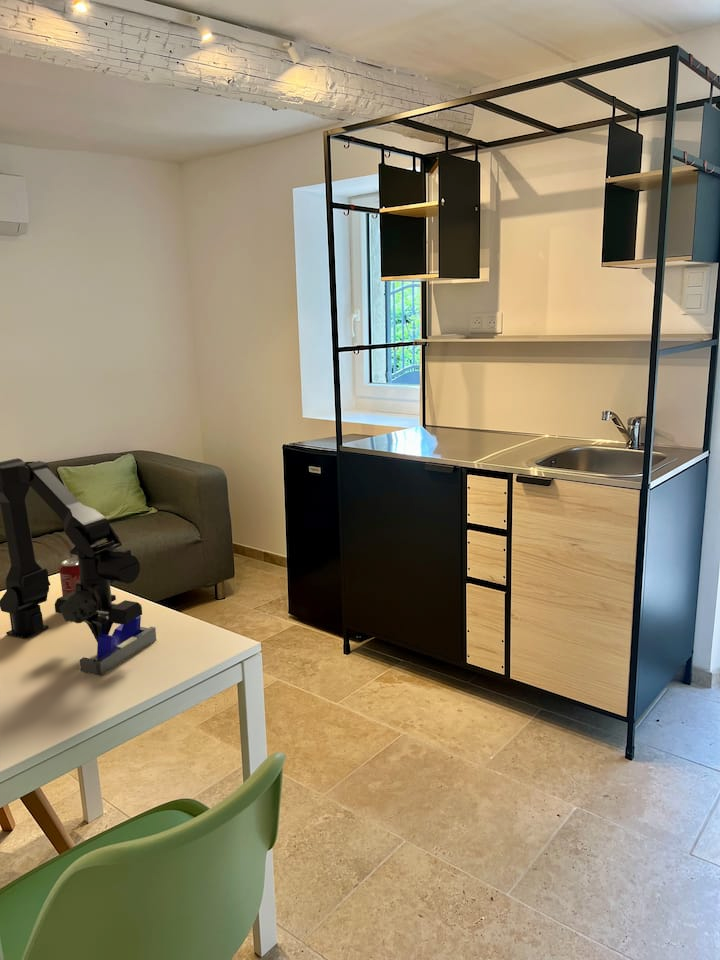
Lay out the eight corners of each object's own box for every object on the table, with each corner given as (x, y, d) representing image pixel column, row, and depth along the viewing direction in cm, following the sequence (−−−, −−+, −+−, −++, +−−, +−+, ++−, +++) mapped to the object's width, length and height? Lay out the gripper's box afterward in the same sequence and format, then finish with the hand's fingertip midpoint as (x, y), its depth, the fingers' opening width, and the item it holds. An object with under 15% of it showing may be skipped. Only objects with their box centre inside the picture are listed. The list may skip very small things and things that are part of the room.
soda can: (87, 613, 176) (82, 565, 173) (59, 613, 176) (54, 566, 173) (97, 602, 183) (92, 556, 180) (70, 602, 183) (65, 557, 180)
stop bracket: (80, 671, 147) (78, 656, 147) (136, 636, 163) (135, 622, 162) (101, 675, 145) (100, 660, 144) (156, 640, 161) (155, 626, 160)
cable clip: (120, 636, 162) (122, 611, 160) (139, 640, 161) (140, 616, 159) (90, 661, 150) (91, 635, 149) (109, 666, 149) (111, 639, 148)
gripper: (30, 583, 148) (39, 654, 152) (103, 595, 141) (110, 669, 145) (70, 565, 158) (78, 632, 162) (140, 576, 151) (146, 645, 155)
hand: (101, 644), depth 155 cm, fingers closed
